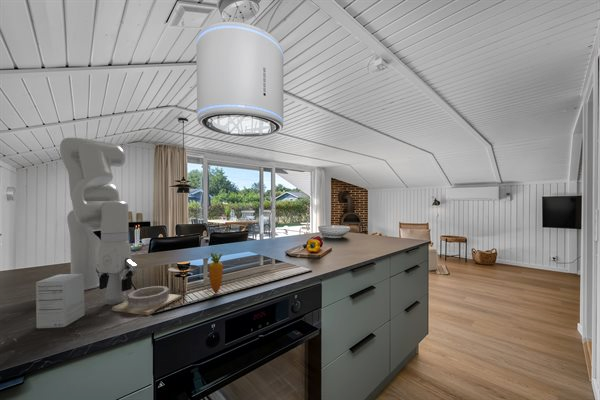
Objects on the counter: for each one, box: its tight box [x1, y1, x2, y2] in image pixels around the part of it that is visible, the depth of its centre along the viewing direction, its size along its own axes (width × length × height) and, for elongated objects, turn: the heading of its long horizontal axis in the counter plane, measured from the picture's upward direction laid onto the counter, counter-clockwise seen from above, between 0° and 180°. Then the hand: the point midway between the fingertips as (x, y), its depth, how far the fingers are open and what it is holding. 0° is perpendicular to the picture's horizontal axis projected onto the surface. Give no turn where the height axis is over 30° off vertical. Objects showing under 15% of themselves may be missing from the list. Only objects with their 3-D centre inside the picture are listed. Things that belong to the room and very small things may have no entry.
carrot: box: [208, 252, 224, 294], centre depth 93 cm, size 5×5×15 cm
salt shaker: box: [104, 273, 127, 306], centre depth 86 cm, size 6×6×13 cm
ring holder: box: [111, 285, 183, 316], centre depth 84 cm, size 14×14×4 cm
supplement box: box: [35, 273, 85, 329], centre depth 72 cm, size 7×7×13 cm
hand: (115, 289), depth 85 cm, fingers open, 9 cm apart
